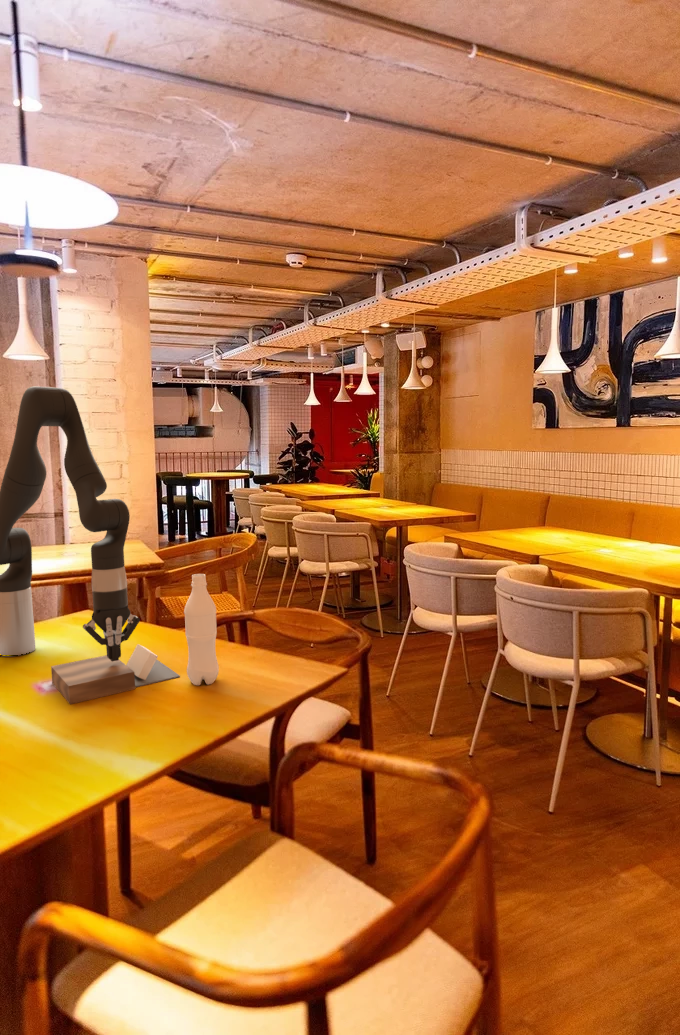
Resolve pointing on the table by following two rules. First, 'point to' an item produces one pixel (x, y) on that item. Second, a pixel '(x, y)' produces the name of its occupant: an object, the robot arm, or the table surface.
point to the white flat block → (141, 661)
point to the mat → (156, 674)
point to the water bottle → (201, 633)
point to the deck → (92, 678)
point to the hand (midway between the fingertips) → (114, 660)
